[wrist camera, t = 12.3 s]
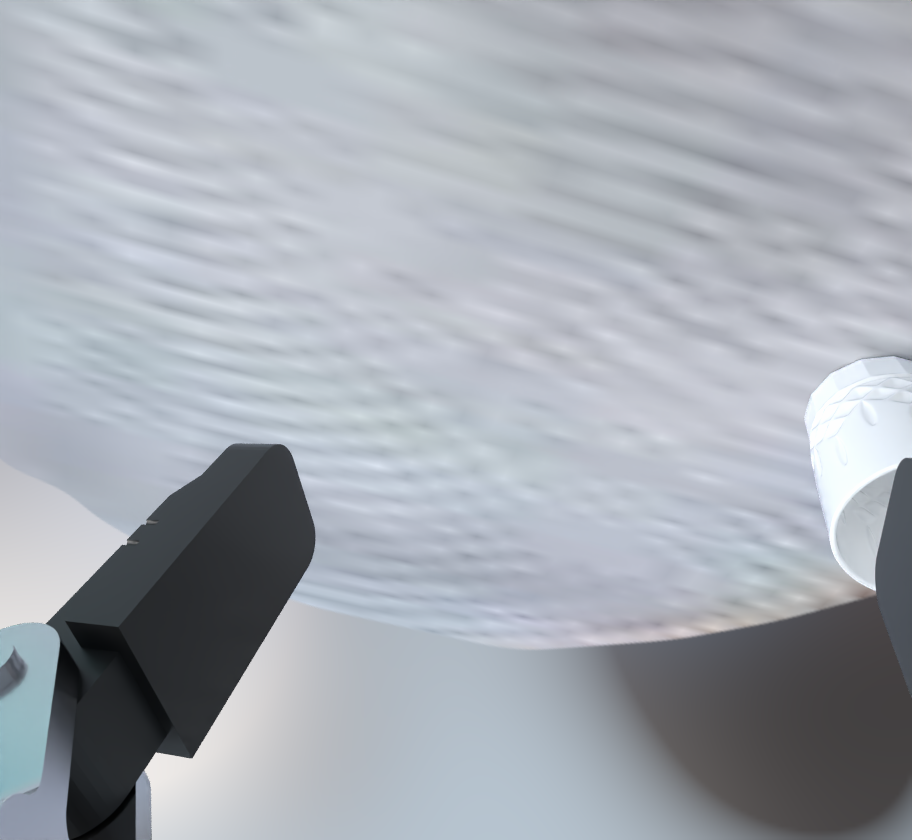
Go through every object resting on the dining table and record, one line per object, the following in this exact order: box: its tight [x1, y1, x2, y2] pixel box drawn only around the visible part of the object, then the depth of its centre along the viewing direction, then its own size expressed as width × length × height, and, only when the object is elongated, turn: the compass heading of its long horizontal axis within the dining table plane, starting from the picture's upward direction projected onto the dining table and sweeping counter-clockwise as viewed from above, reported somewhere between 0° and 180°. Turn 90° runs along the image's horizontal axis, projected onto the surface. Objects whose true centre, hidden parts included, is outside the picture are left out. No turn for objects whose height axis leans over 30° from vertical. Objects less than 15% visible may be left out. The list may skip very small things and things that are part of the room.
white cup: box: [804, 356, 912, 591], centre depth 32 cm, size 8×8×10 cm
